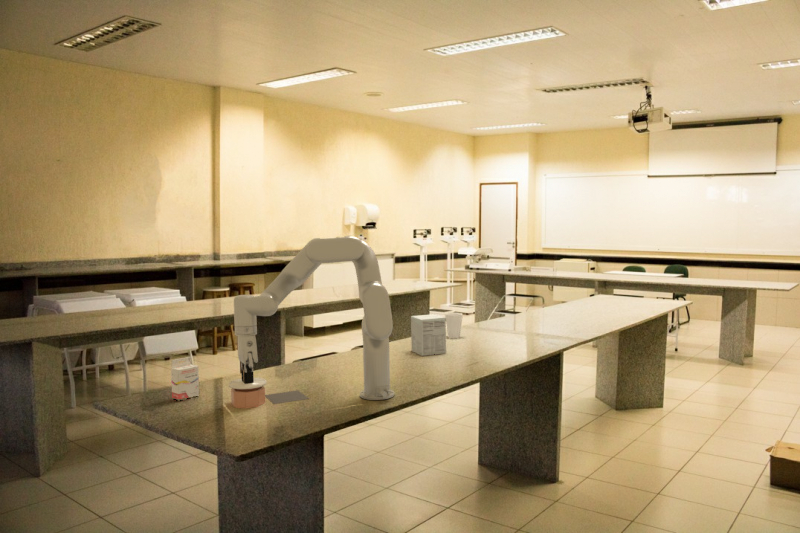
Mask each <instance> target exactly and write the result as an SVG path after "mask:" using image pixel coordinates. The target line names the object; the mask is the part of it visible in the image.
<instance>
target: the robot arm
mask: <svg viewBox="0 0 800 533" xmlns="http://www.w3.org/2000/svg"><path fill="white" fill-rule="evenodd" d="M343 262H344V263H345V262H351V263H353V265H354V269H355V274H356V279H357V286H358V297H359V299H360V300H359V301H360V302H361V303H362V307H363V317H362V319H361V320H362V321H361V333H362V334H361V335H362V349H363V350H362V351H363V352H362V354H363V356H362V358H363V361H362V362H363V390H361V391H360V392H359V397H360V398H362V399H364V400H369V401H381V400H383V401H385V400H388V399H392V398H393V397H395V391H394V390H392V389H391V381H390V380H391V370H390V366H391V365H390V361H391V360H390V338H389V337H390V336H391V335H392V332H393V329H394V328H393V327H394V325H393V324H394V322H393V314H392V308H391V300H390V296H389V292H388V289H387V288H386V287H385V286H384V285H383V283H382V282H383V281H382V276H381V272H380V271H381V270H380V265H379V261H378V257H377V255H376V254H375V252H374V249H372V247H371V246H370V245H369V244H368V243H367V242H366V241H364V240H362V239H360V238H358V237H356V236H355V235H346V236H343V237H332V238H330V237H329V238H320V237H318V238H317V237H315V238H311V240H309V241H308V242H307V243H306V244H305V245H304V246H303V248H302V249H300V251H299V252H298V253H297V254H296V255H294V257H293V258H292V259H291V261H290V262H288V263H287V264H286V266H285V267H284V268H283V269H282V270H281V272H279V273H278V275H277V276H276V277H275V279H274V280H272V282H271V283H270V284H268V286H267V287H266V288H265V289H264V290H263V291H262V292H261V293H260V294H259V295H256V296H255V295H252V294H239V295H236V296H235V297H234V298H233V317H234V320H233V321H234V336H236V337H237V358H238V361H239V362H240V364H241V365H240V366H241V368H240V369H241V374H240V375H241V378H242V381H243V370H244V369H245V372H244V383H245V384H248V383H253V382H254V378H255V377H254V363H255V364H257V363H258V362H259V359H258V358H259V357H258V346H257V345H258V344H257V339H256V335H258V327H257V325H258V324H257V322H258V321H257V316H259V317H271V316H273V315H274V314H276V312H277V310H278V308H279V306H280V305H281V303H282V302H283V301H284V300H285V299H286V298H287V297H288V296H289V295H290V294H291V293H292V292H293V291H294V290H295V289H297V288H299V287H301V286H302V285H303V284H304V283H305V282H306V281H307V280H308V279H309V278H310V277H311V276H312V275H313V274H314V272H315V271H316V270H317V269H318V268H319V267H320V266H321V265H322V264H329V263H331V264H332V263H343Z"/></svg>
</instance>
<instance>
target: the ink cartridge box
mask: <svg viewBox="0 0 800 533" xmlns="http://www.w3.org/2000/svg"><path fill="white" fill-rule="evenodd" d="M170 365H171V366H170V367H171V369H170V377H171V378H170V380H171V399H172V398H175V399H183V398H188V397H193V396H199V397H200V382H199V381H200V380H199V375H200V374H199V365H196V364H192V356H187V357H180V358H176V359H172V360H171V364H170Z"/></svg>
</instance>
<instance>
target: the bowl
mask: <svg viewBox="0 0 800 533" xmlns="http://www.w3.org/2000/svg"><path fill="white" fill-rule="evenodd" d="M265 388H266V387H265V385H264V386H262V387H258V388H253V389H233V388H230V397H231V398H230V400H231V406H232V407H233V408H239V409H250V408H252V409H253V408H257V407H258V408H259V407H261V406H263V405H264V404H265V403H266V397H265V395H266V389H265Z"/></svg>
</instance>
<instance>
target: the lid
mask: <svg viewBox="0 0 800 533" xmlns="http://www.w3.org/2000/svg"><path fill="white" fill-rule="evenodd" d="M244 372H245V369H244V370H243V381H242V377H241V378H237V379H232V380H231V381H229V382H228V388H230V389H232V388H233V389H253V388H258V387H262V386H264V387H265V386H266V385H267V379H265V378H262V377H253V378H254V382H253V383H248V384H245V383H244Z"/></svg>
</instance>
